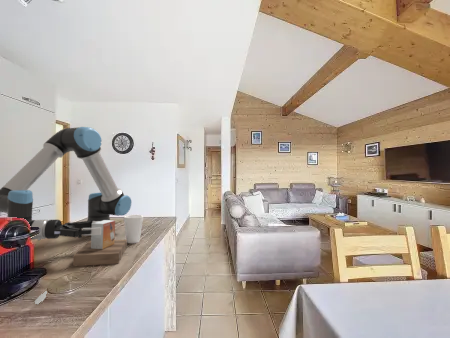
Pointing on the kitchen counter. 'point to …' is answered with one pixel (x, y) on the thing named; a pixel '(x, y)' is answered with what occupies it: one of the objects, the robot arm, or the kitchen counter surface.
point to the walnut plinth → (100, 254)
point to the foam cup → (133, 227)
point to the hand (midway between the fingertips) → (104, 227)
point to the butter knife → (41, 298)
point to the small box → (103, 234)
